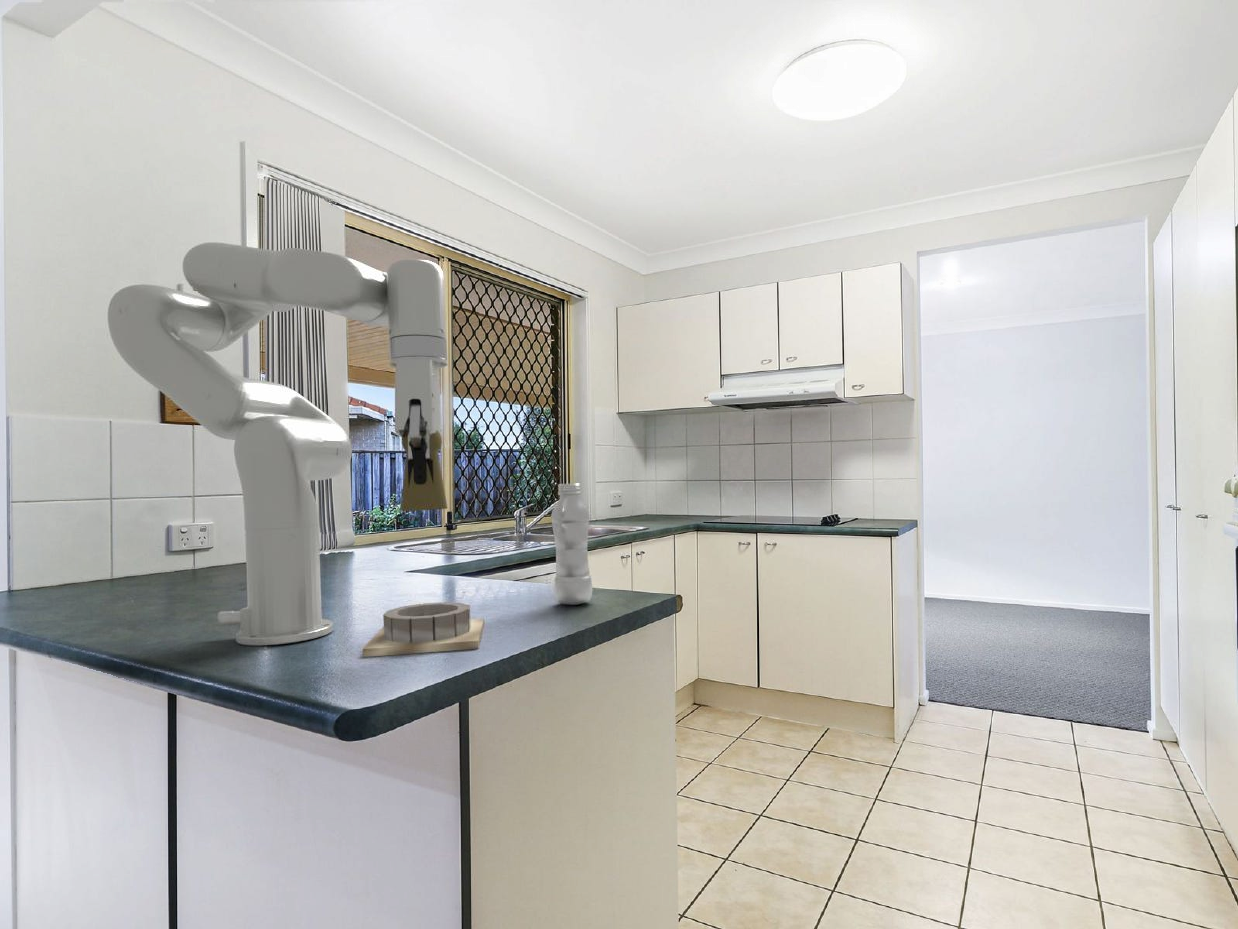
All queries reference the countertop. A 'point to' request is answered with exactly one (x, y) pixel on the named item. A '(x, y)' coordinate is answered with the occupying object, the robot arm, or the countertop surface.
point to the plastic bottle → (571, 547)
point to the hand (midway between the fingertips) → (423, 488)
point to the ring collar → (426, 630)
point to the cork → (426, 493)
